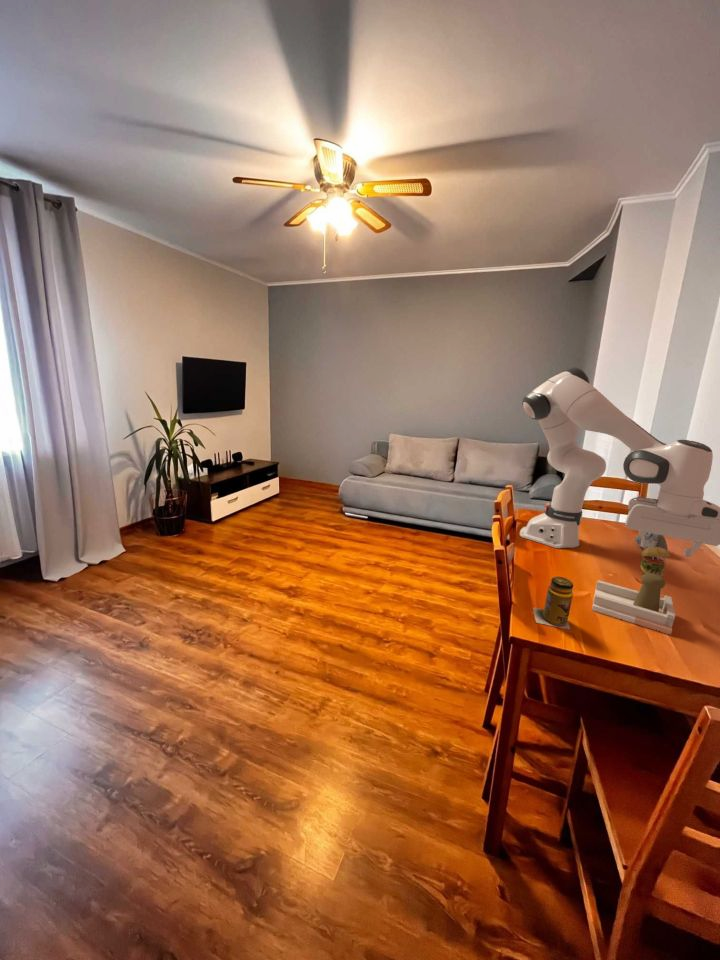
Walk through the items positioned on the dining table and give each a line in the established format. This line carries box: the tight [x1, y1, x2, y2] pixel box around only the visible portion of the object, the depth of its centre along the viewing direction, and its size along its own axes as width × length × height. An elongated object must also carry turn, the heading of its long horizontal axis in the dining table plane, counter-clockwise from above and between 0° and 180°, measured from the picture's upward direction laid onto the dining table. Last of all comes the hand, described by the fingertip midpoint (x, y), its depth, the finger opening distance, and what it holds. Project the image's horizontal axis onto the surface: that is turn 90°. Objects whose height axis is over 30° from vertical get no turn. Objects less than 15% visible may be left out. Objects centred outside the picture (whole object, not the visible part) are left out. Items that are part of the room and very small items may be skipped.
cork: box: [633, 573, 666, 612], centre depth 107 cm, size 6×6×11 cm
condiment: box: [532, 576, 574, 630], centre depth 103 cm, size 7×8×12 cm
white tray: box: [591, 579, 676, 636], centre depth 110 cm, size 18×14×5 cm
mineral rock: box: [634, 532, 669, 551], centre depth 152 cm, size 13×11×10 cm
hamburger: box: [640, 541, 671, 578], centre depth 131 cm, size 8×7×12 cm
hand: (665, 551), depth 103 cm, fingers open, 8 cm apart
